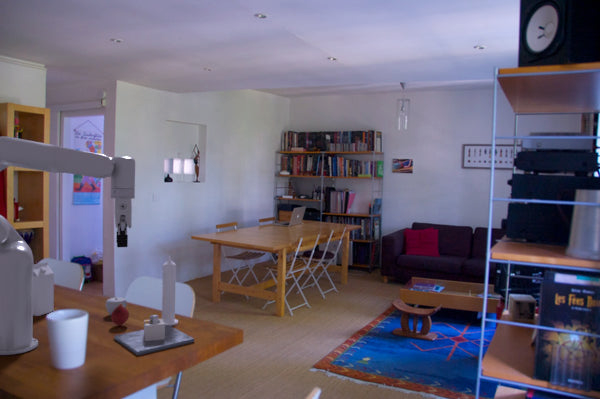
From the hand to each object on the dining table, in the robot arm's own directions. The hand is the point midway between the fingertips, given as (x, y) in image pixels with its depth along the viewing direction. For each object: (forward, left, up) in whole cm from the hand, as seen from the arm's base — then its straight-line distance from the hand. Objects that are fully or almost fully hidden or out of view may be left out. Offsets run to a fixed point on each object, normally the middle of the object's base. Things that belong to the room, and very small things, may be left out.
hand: (121, 244), depth 158 cm
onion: (+3, +8, -31) cm, 32 cm away
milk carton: (-15, +41, -31) cm, 53 cm away
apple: (+7, +22, -31) cm, 38 cm away
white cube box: (+6, -13, -29) cm, 32 cm away
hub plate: (+6, -13, -30) cm, 33 cm away
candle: (+18, +1, -31) cm, 35 cm away
